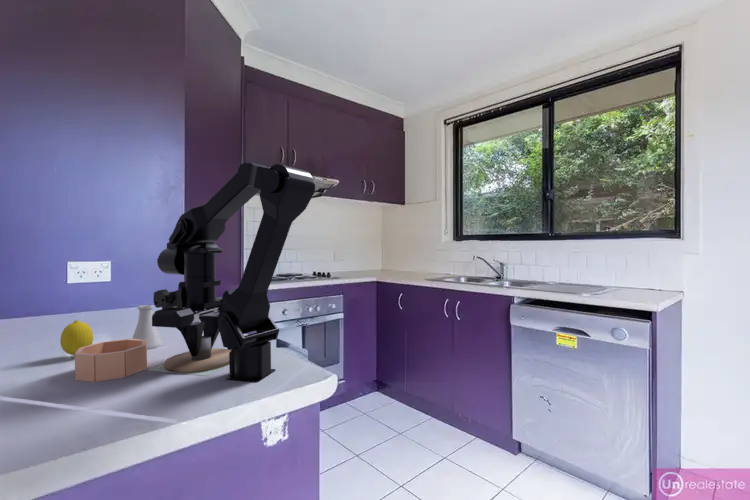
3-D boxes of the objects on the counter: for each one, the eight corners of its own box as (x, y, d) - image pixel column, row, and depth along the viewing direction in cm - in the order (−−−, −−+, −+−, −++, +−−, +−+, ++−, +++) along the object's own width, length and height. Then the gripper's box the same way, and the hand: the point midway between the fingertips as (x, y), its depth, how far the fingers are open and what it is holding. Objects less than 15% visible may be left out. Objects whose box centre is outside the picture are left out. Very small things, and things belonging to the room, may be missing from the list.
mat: (248, 357, 79) (248, 354, 79) (206, 378, 66) (206, 375, 66) (197, 352, 82) (197, 350, 82) (148, 372, 70) (148, 370, 70)
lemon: (75, 361, 77) (74, 323, 77) (53, 360, 78) (53, 322, 78) (100, 354, 82) (99, 318, 82) (79, 352, 83) (79, 317, 83)
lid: (248, 354, 79) (248, 332, 79) (206, 375, 66) (206, 348, 66) (197, 350, 82) (196, 329, 82) (148, 369, 70) (147, 344, 70)
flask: (170, 347, 88) (169, 305, 87) (137, 354, 81) (136, 309, 81) (154, 342, 91) (153, 302, 91) (121, 350, 85) (121, 307, 85)
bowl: (160, 365, 74) (159, 340, 74) (109, 385, 63) (108, 356, 63) (117, 361, 76) (116, 337, 76) (61, 380, 66) (61, 352, 66)
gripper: (199, 272, 85) (200, 339, 85) (126, 279, 67) (128, 364, 67) (241, 272, 82) (242, 342, 83) (177, 280, 64) (178, 369, 65)
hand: (201, 353), depth 74 cm, fingers closed on lid, 4 cm apart
